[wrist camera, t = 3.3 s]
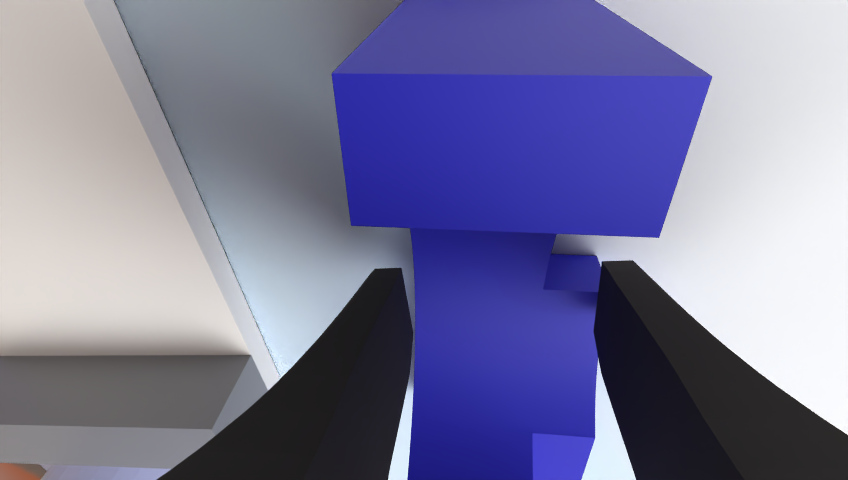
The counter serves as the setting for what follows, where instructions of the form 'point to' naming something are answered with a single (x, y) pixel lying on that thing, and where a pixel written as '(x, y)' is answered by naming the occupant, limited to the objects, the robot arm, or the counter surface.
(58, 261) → the clip dock
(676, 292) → the counter surface
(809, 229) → the counter surface
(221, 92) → the counter surface
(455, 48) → the cable clip
